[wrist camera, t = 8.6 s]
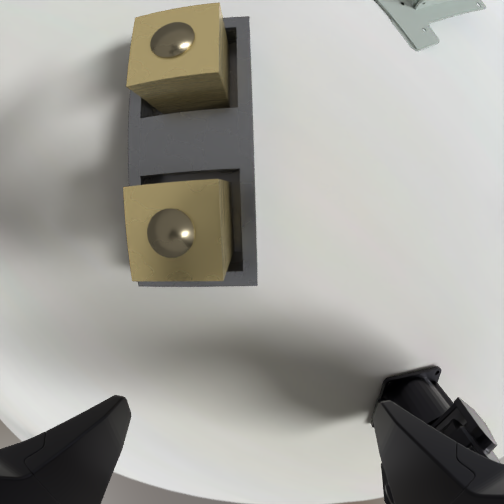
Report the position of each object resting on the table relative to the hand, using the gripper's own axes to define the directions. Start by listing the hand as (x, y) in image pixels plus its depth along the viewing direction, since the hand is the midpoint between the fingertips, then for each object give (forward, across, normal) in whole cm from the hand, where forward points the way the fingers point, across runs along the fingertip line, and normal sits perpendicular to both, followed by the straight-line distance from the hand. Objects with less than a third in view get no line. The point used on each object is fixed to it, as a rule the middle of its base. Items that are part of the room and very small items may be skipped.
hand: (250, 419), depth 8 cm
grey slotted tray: (+11, +4, -10) cm, 16 cm away
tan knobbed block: (+11, +4, -15) cm, 19 cm away
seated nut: (+11, +4, -6) cm, 13 cm away
